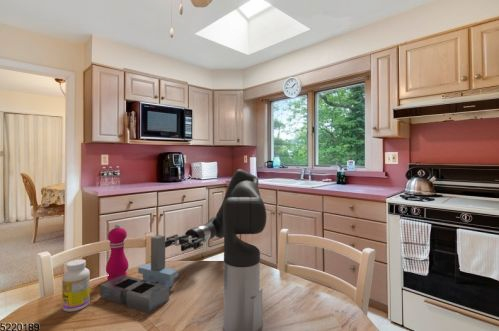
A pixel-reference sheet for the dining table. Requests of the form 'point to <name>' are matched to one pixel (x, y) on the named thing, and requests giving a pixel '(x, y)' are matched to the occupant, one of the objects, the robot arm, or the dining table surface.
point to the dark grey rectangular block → (135, 293)
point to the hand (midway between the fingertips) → (172, 246)
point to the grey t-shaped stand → (158, 264)
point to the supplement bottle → (75, 286)
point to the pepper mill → (117, 253)
